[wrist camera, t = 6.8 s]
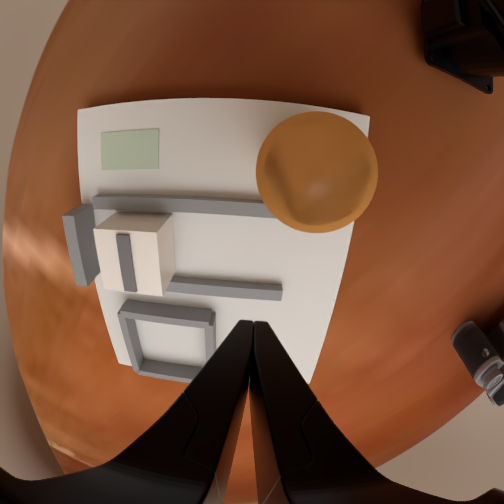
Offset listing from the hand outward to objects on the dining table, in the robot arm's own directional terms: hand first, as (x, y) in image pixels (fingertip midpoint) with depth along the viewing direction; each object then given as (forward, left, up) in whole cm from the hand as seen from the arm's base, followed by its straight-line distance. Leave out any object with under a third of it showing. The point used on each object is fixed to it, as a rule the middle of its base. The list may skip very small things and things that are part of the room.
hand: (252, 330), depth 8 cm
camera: (-29, +11, -11) cm, 33 cm away
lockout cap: (-2, -4, -10) cm, 11 cm away
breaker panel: (+3, +4, -11) cm, 12 cm away
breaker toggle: (+7, +2, -9) cm, 12 cm away
